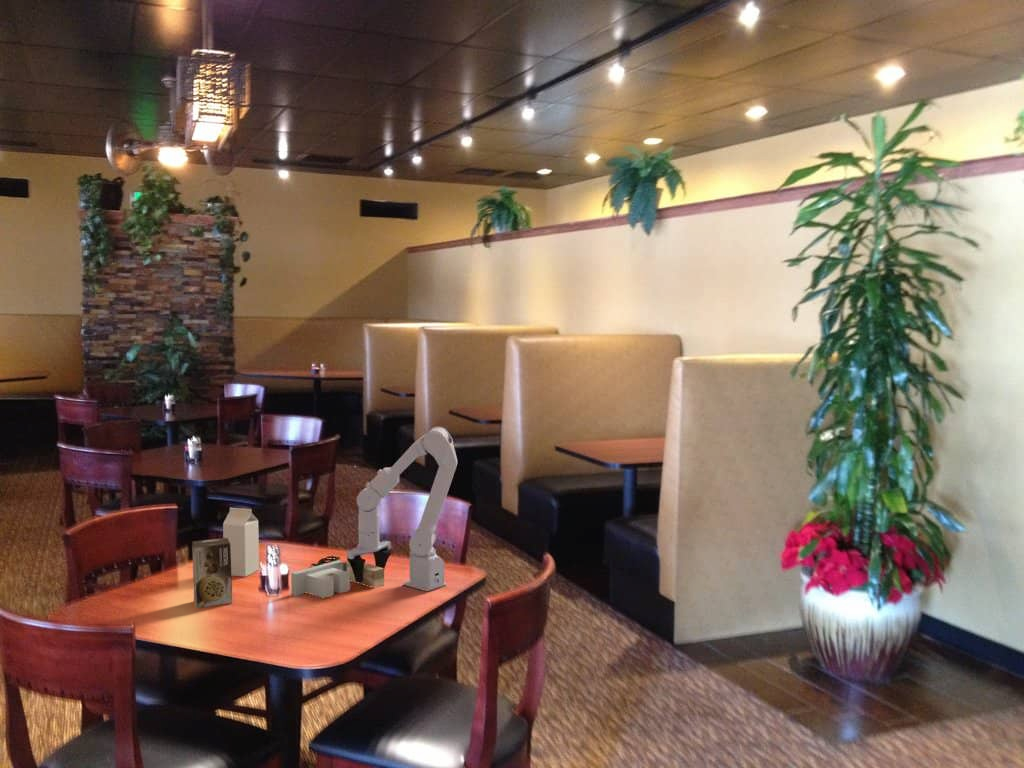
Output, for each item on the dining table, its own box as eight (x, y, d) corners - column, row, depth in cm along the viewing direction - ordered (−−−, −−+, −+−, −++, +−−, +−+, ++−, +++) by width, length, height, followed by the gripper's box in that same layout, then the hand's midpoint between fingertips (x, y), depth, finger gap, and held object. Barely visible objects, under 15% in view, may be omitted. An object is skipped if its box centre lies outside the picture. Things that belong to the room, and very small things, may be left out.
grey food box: (229, 596, 234) (228, 537, 233) (232, 603, 228) (231, 542, 227) (193, 601, 230) (191, 540, 229) (195, 608, 224) (194, 546, 223)
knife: (305, 585, 245) (305, 580, 245) (284, 583, 247) (284, 578, 247) (345, 561, 270) (345, 556, 269) (326, 559, 271) (326, 554, 271)
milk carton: (245, 577, 251) (244, 511, 249) (223, 575, 253) (222, 510, 251) (259, 570, 258) (258, 506, 256) (238, 568, 260) (236, 505, 258)
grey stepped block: (359, 587, 242) (359, 566, 242) (312, 601, 230) (312, 579, 229) (338, 580, 248) (338, 560, 247) (291, 594, 236) (291, 572, 235)
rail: (384, 585, 244) (384, 568, 244) (374, 588, 242) (374, 571, 241) (349, 575, 254) (349, 558, 254) (339, 578, 251) (339, 560, 251)
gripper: (378, 523, 253) (379, 570, 254) (339, 533, 241) (339, 581, 242) (395, 527, 248) (395, 574, 249) (356, 537, 237) (356, 587, 238)
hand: (369, 578), depth 246 cm, fingers open, 7 cm apart
